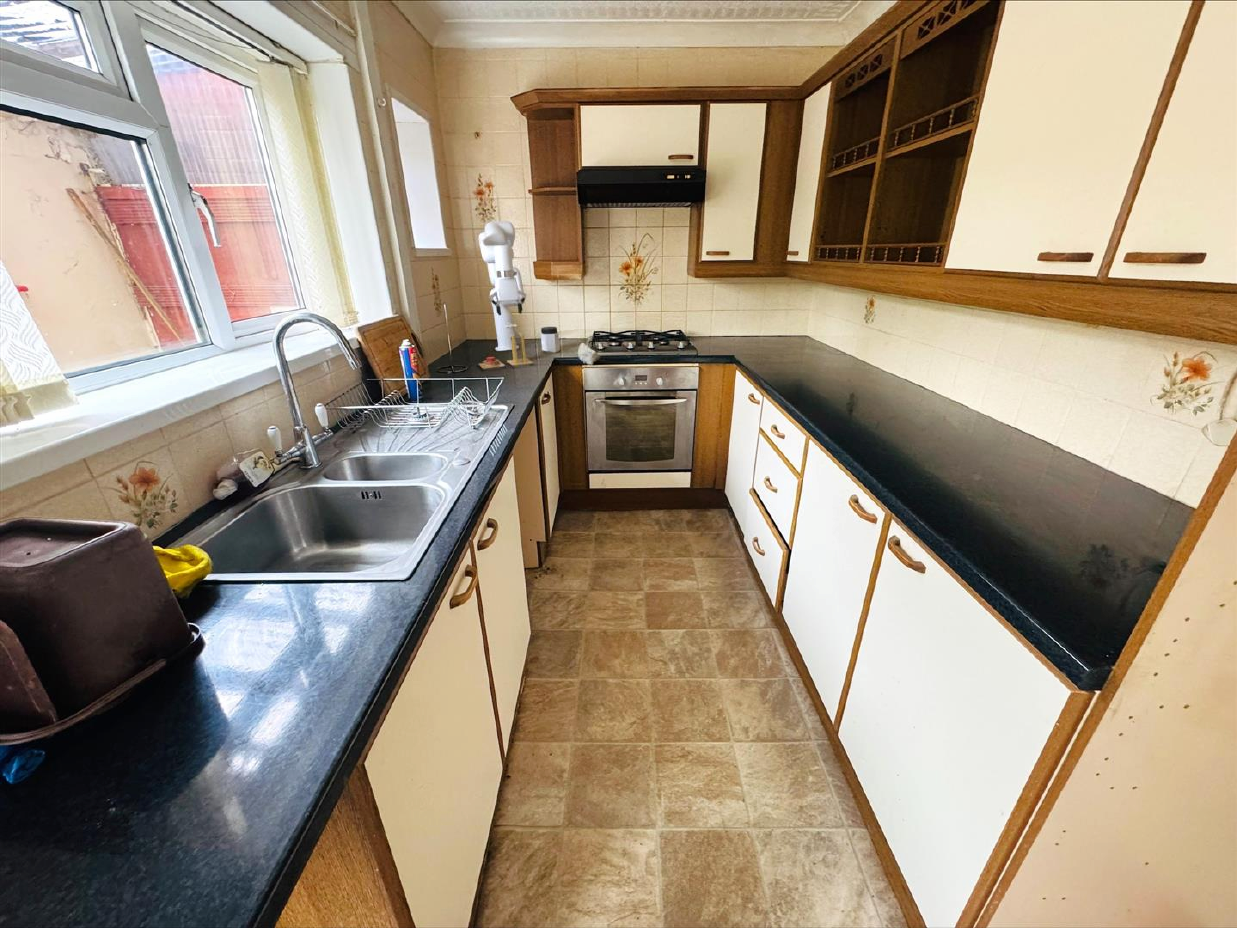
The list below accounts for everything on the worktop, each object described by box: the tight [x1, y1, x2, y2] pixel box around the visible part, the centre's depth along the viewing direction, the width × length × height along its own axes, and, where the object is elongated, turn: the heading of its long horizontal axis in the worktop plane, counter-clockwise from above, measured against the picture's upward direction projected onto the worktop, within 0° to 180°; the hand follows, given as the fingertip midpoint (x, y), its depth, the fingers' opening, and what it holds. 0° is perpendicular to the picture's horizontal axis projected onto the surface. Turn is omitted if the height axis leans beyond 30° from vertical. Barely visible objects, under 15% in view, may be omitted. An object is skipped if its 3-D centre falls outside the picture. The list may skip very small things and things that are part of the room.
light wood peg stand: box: [506, 332, 535, 367], centre depth 235 cm, size 12×10×14 cm
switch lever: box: [506, 323, 520, 343], centre depth 235 cm, size 12×5×2 cm, turn 26°
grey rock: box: [577, 342, 601, 366], centre depth 232 cm, size 15×7×15 cm
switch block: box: [478, 358, 506, 370], centre depth 233 cm, size 12×10×3 cm
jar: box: [540, 326, 560, 354], centre depth 261 cm, size 9×8×12 cm
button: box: [485, 356, 496, 362], centre depth 232 cm, size 4×4×2 cm
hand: (510, 314), depth 236 cm, fingers open, 9 cm apart
